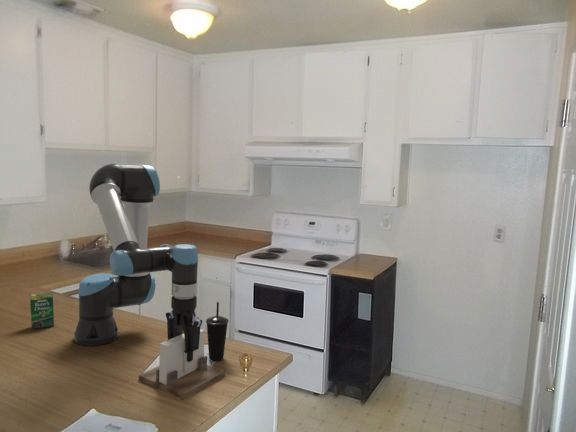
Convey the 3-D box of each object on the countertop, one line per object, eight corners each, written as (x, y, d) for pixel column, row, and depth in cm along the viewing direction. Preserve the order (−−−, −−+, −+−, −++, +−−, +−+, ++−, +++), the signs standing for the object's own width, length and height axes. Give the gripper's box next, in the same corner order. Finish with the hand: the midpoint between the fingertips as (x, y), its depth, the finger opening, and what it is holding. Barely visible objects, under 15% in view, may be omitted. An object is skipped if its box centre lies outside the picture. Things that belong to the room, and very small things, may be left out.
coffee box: (30, 329, 174) (29, 296, 173) (30, 326, 177) (30, 293, 175) (54, 326, 178) (53, 294, 176) (54, 324, 180) (53, 292, 179)
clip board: (138, 379, 140) (138, 364, 139) (181, 359, 155) (181, 345, 154) (183, 399, 130) (184, 382, 129) (224, 375, 145) (225, 360, 144)
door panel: (159, 381, 136) (159, 343, 135) (196, 362, 150) (197, 327, 148) (166, 384, 135) (167, 345, 133) (203, 365, 148) (204, 330, 147)
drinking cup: (202, 354, 159) (204, 299, 157) (224, 352, 162) (226, 298, 160) (207, 364, 152) (208, 306, 150) (229, 361, 155) (231, 305, 153)
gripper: (155, 293, 140) (154, 365, 143) (195, 304, 132) (193, 381, 135) (173, 287, 147) (172, 357, 149) (212, 298, 138) (210, 371, 141)
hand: (182, 368), depth 142 cm, fingers open, 3 cm apart
